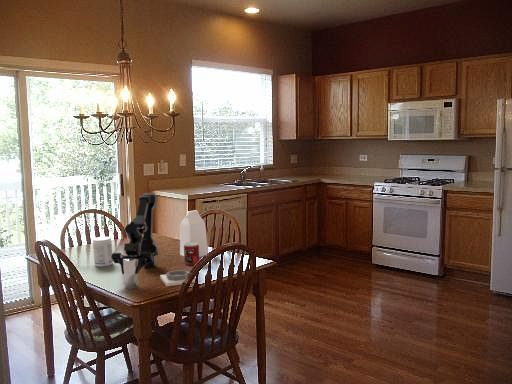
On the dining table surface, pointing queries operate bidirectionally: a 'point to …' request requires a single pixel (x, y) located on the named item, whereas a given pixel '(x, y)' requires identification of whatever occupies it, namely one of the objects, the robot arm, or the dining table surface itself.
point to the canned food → (191, 253)
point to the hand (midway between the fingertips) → (129, 274)
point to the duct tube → (130, 273)
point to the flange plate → (170, 282)
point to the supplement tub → (102, 251)
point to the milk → (193, 232)
